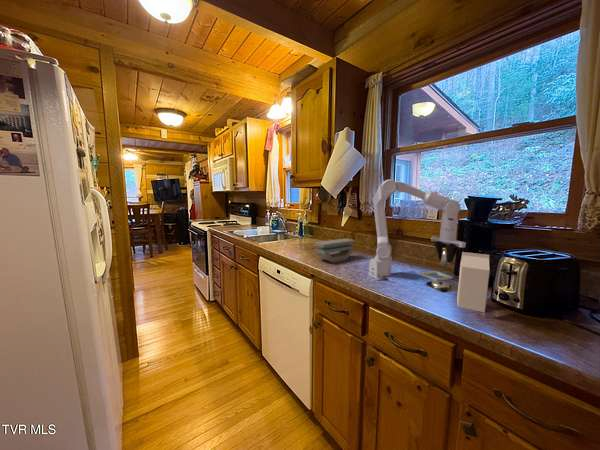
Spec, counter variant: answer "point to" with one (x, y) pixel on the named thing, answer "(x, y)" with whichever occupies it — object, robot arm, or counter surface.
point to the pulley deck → (453, 288)
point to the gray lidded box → (335, 249)
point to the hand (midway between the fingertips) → (445, 260)
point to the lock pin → (444, 257)
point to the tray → (446, 277)
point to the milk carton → (473, 281)
